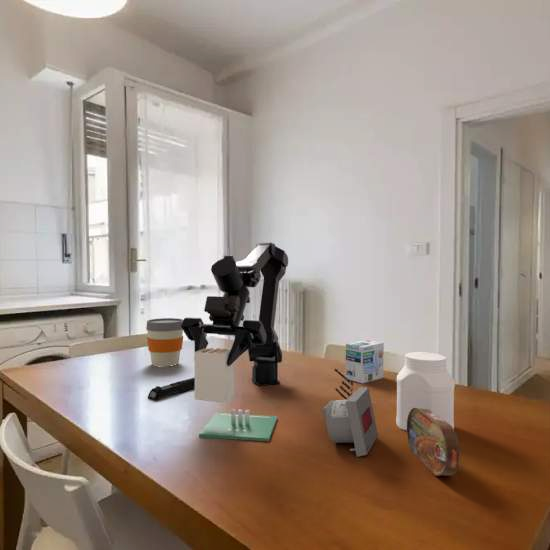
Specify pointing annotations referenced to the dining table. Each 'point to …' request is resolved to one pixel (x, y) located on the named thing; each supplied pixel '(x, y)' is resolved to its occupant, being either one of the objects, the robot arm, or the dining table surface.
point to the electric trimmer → (171, 389)
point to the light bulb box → (364, 361)
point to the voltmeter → (352, 419)
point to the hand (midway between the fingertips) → (211, 363)
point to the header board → (239, 426)
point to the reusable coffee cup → (164, 340)
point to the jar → (425, 387)
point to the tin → (433, 441)
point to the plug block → (213, 375)
